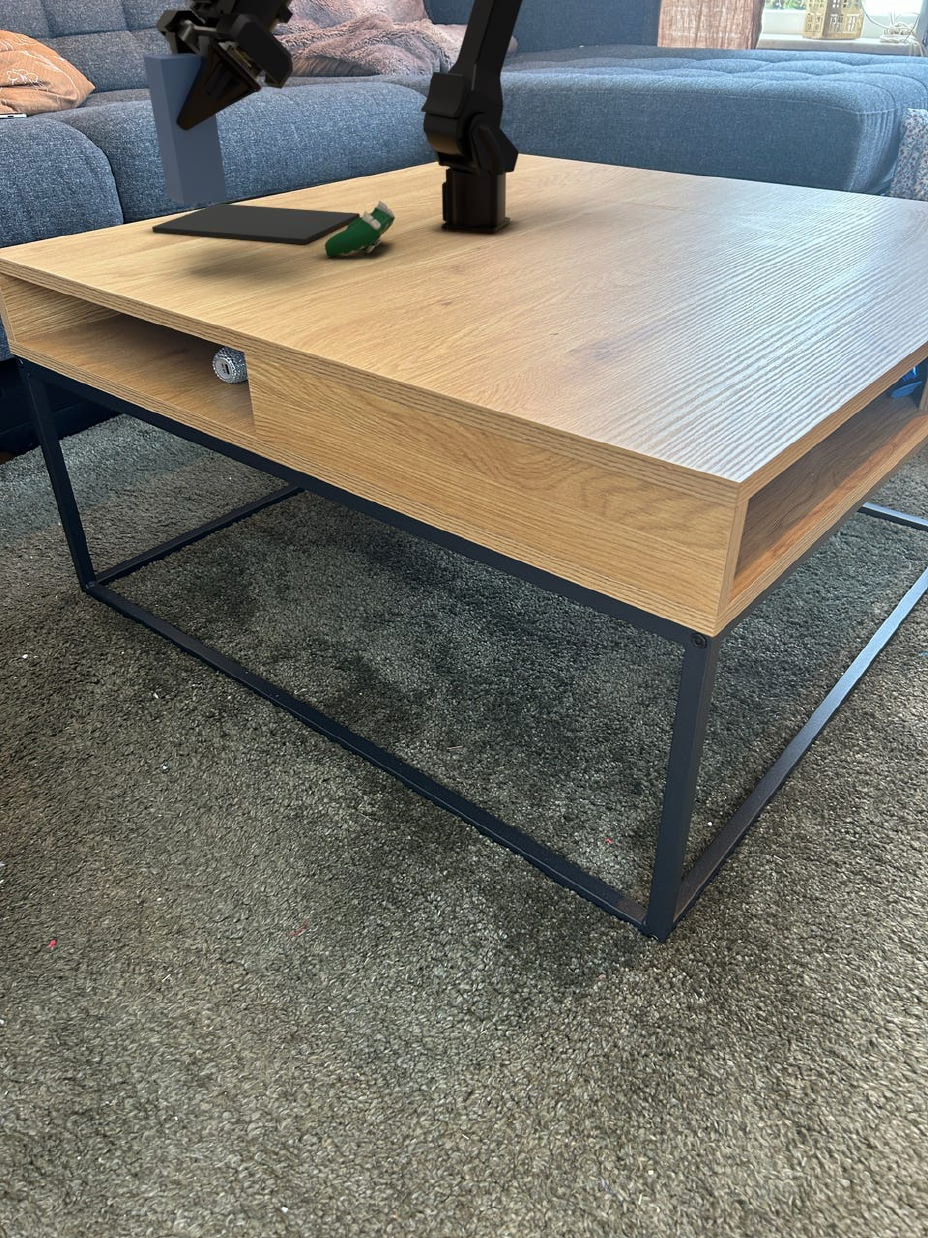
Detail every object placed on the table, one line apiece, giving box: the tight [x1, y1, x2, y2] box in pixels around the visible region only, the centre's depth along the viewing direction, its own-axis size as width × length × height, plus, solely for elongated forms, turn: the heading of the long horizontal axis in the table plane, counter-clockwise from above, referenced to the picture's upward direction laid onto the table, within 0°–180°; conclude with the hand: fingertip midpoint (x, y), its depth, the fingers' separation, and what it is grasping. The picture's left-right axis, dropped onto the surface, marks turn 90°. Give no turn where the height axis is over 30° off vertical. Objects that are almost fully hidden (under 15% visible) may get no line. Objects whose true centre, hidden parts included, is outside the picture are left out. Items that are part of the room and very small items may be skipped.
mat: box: [151, 203, 361, 245], centre depth 114 cm, size 20×14×1 cm
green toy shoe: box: [324, 200, 396, 258], centre depth 103 cm, size 9×4×6 cm
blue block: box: [142, 53, 229, 206], centre depth 90 cm, size 4×4×12 cm
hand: (171, 124), depth 89 cm, fingers closed on blue block, 4 cm apart
